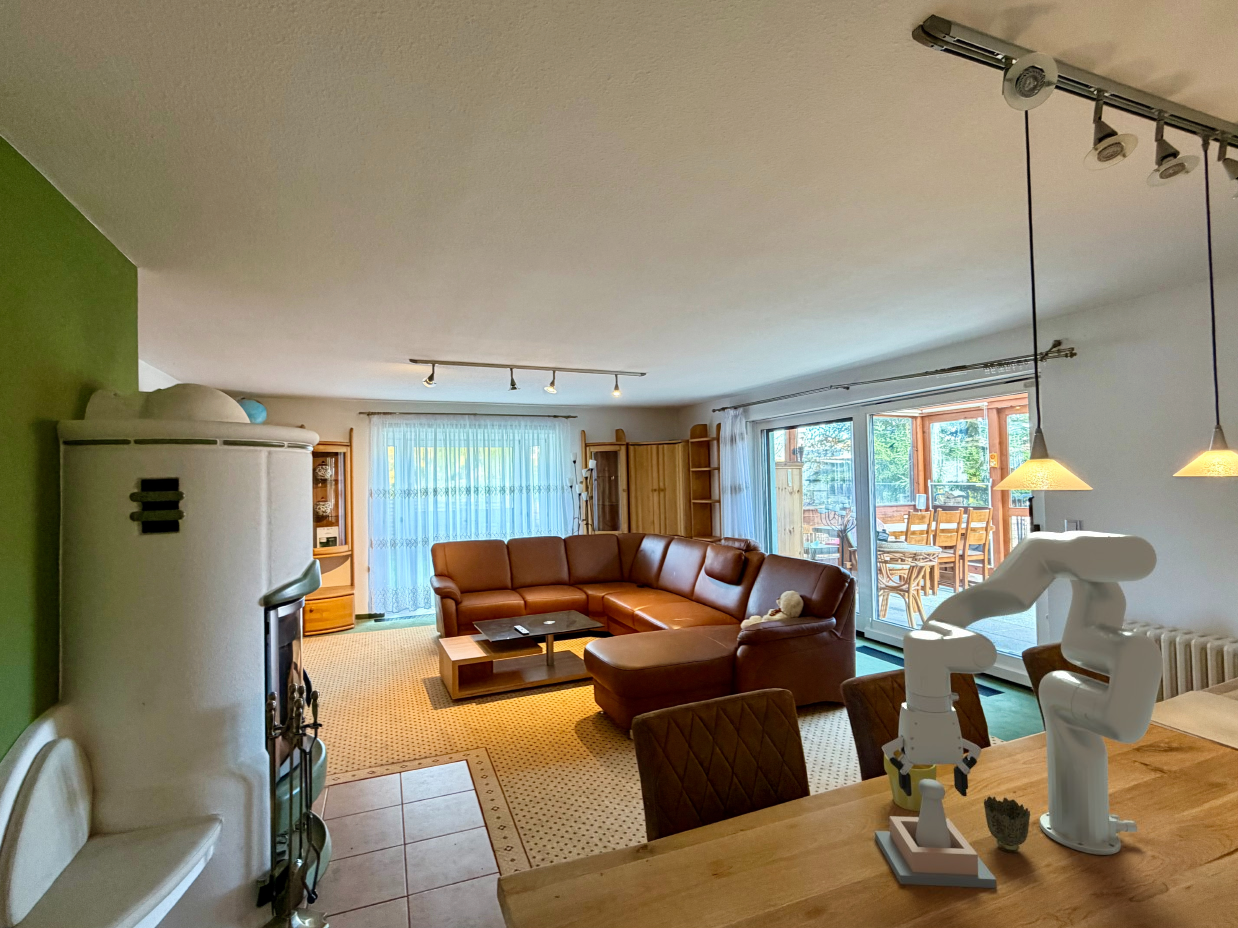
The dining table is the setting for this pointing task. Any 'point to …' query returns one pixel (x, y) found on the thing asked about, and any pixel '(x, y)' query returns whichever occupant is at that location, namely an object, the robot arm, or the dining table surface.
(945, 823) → the salt shaker
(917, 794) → the plant pot
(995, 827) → the cup
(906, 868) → the socket base
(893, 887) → the dining table surface
